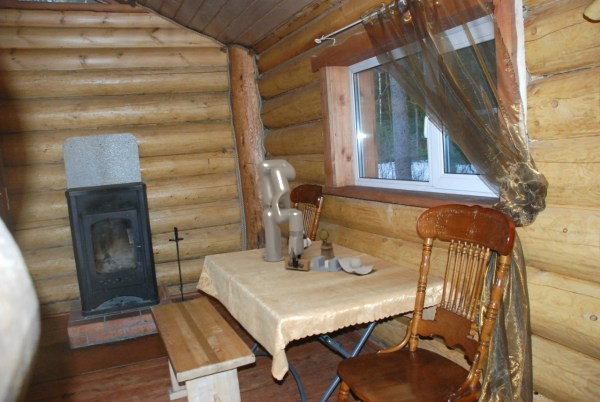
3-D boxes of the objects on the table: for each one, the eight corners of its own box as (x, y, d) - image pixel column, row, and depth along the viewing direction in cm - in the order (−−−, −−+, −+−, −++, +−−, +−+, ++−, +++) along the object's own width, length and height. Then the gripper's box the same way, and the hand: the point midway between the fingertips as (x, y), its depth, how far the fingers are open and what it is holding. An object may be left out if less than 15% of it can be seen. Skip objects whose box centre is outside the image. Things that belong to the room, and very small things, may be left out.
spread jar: (291, 250, 312) (290, 232, 310) (294, 246, 323) (293, 229, 322) (309, 249, 310) (308, 232, 308) (312, 246, 321) (311, 229, 319)
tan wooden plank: (284, 267, 261) (284, 258, 260) (287, 265, 264) (287, 257, 264) (307, 270, 255) (307, 261, 254) (310, 268, 258) (310, 259, 257)
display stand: (310, 269, 259) (310, 259, 258) (318, 265, 268) (318, 255, 267) (337, 272, 251) (337, 261, 251) (344, 267, 260) (344, 256, 259)
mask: (355, 277, 240) (379, 275, 246) (356, 262, 239) (380, 261, 246) (335, 268, 258) (358, 267, 264) (335, 255, 257) (358, 253, 264)
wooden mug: (331, 257, 285) (330, 228, 283) (337, 262, 271) (335, 231, 269) (316, 259, 283) (315, 229, 281) (322, 264, 270) (320, 233, 268)
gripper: (297, 230, 266) (298, 262, 268) (282, 236, 251) (284, 269, 254) (309, 231, 262) (310, 263, 265) (295, 237, 248) (296, 271, 251)
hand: (297, 266), depth 259 cm, fingers closed on tan wooden plank, 3 cm apart
